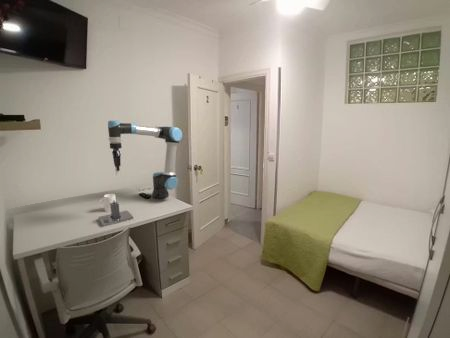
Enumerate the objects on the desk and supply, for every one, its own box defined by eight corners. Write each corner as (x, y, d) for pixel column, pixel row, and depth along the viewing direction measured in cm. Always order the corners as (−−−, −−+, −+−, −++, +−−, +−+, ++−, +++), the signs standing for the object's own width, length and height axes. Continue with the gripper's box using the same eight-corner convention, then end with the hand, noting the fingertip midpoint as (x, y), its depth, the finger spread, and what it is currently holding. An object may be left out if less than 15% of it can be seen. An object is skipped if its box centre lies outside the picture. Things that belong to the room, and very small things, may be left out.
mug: (101, 213, 174) (99, 198, 172) (99, 209, 181) (98, 195, 179) (117, 210, 181) (116, 195, 178) (115, 206, 188) (114, 192, 185)
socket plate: (127, 212, 177) (127, 209, 176) (133, 219, 166) (133, 215, 166) (98, 219, 164) (97, 216, 164) (102, 226, 154) (102, 223, 153)
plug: (118, 217, 168) (116, 199, 165) (120, 219, 165) (118, 201, 162) (111, 219, 166) (109, 200, 162) (113, 221, 162) (111, 202, 159)
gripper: (107, 142, 166) (110, 173, 171) (112, 143, 156) (115, 177, 161) (118, 141, 171) (121, 172, 176) (123, 143, 161) (126, 176, 166)
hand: (118, 174), depth 168 cm, fingers closed
